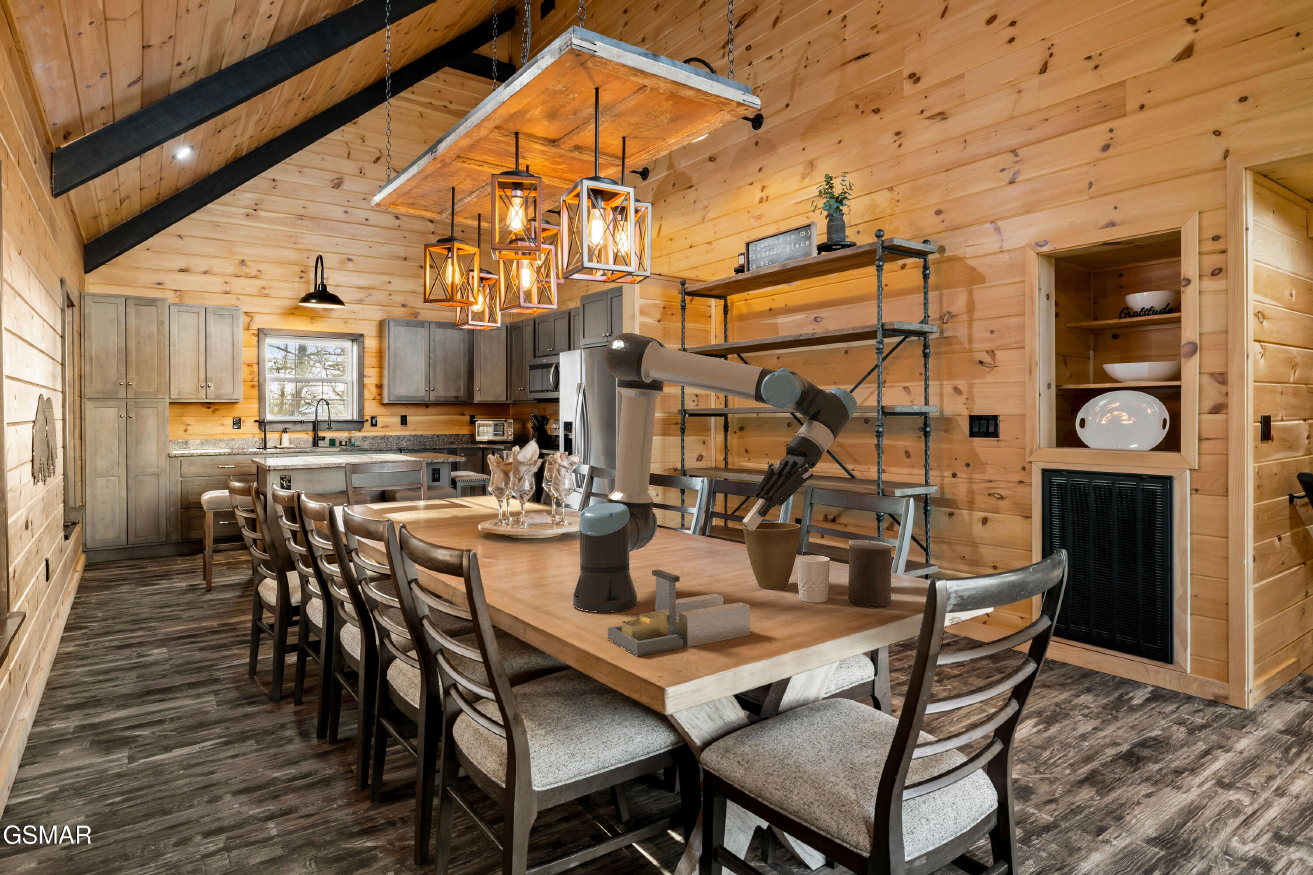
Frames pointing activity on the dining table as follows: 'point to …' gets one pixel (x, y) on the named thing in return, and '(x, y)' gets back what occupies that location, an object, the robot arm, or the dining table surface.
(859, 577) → the pillar candle
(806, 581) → the white cup
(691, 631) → the slotted rail
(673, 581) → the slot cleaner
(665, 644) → the tray
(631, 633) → the brass chip
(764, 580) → the plant pot
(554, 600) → the dining table surface
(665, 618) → the brass chip
